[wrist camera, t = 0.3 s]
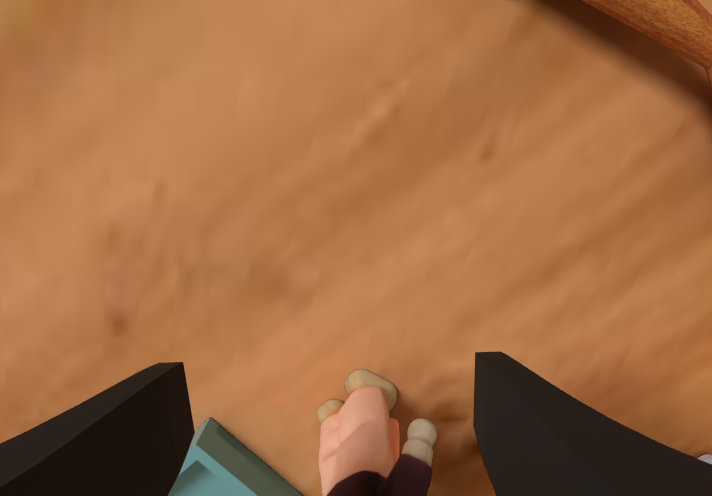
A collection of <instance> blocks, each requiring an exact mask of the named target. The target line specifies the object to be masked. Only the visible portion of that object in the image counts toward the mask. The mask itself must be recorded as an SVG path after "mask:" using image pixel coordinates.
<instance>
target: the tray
mask: <svg viewBox="0 0 712 496" xmlns="http://www.w3.org/2000/svg"><path fill="white" fill-rule="evenodd" d="M194 432H195V434H194V437H193V439H192V442H191V445H190V448H189V451H188V453H187V456H186V458H185V461H184V463H183V466H182V468H181V471H180V473H179V475H178V477H177V479H176V481H175V483H174V485H173V487H172V488H171V490H170V492H169V494H168V496H303V495H301V494H300V493H299V492H298V491H297V490H296V489H294V488H293V487H292V486H291V485H290V484H289V483H287V482H286V481H285V480H284V479H283V478H281V477H280V476H279V475H278V474H277V473H276V472H274V471H273V470H272V469H271V468H270V467H268V466H267V465H266V464H265V463H264V462H263V461H261V460H260V459H259V458H258V457H257V456H256V455H254V454H253V453H252V452H251V451H250V450H248V449H247V448H246V447H245V446H244V445H243V444H241V443H240V442H239V441H238V440H237V439H235V438H234V437H233V436H232V435H231V434H230V433H228V432H227V431H226V430H225V429H224V428H223V427H221V426H220V425H219V424H218V423H217V422H215V421H214V420H213V419H212V418H211V417H210V418H209V419H208V420H206V421H205V422H204V423H203V424H202V425H201V426H200V427H198V428H197V429H196V430H195V431H194Z"/></svg>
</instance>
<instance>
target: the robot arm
mask: <svg viewBox="0 0 712 496" xmlns="http://www.w3.org/2000/svg"><path fill="white" fill-rule="evenodd" d="M473 426H474V429H475V433H476V437H477V441H478V445H479V448H480V452H481V455H482V459H483V462H484V465H485V468H486V470H487V473H488V476H489V478H490V480H491V483H492V485H493V488H494V490H495V493H496V495H497V496H712V455H710V454H706V455H702V456H700V457H698V458H694V457H692V456H689V455H687V454H684V453H682V452H679V451H677V450H675V449H673V448H670V447H668V446H666V445H663V444H661V443H659V442H657V441H655V440H653V439H651V438H649V437H646V436H644V435H642V434H640V433H638V432H636V431H634V430H632V429H630V428H628V427H626V426H624V425H622V424H620V423H618V422H616V421H614V420H612V419H610V418H608V417H606V416H605V415H603V414H601V413H599V412H598V411H596V410H594V409H592V408H591V407H589V406H587V405H585V404H583V403H582V402H580V401H578V400H577V399H575V398H573V397H572V396H570V395H568V394H567V393H565V392H564V391H562V390H560V389H559V388H557V387H556V386H554V385H552V384H551V383H549V382H548V381H546V380H545V379H543V378H542V377H540V376H539V375H537V374H536V373H534V372H532V371H531V370H529V369H528V368H526V367H525V366H523V365H522V364H520V363H519V362H517V361H516V360H514V359H513V358H511V357H509V356H508V355H506V354H504V353H502V352H475V386H474V423H473ZM194 434H195V432H194V426H193V420H192V414H191V407H190V401H189V395H188V389H187V383H186V377H185V371H184V365H183V362H172V363H158V364H155V365H153V366H150V367H148V368H146V369H144V370H142V371H140V372H138V373H136V374H134V375H132V376H130V377H128V378H127V379H125V380H123V381H121V382H119V383H117V384H116V385H114V386H112V387H110V388H108V389H106V390H105V391H103V392H101V393H99V394H97V395H95V396H94V397H92V398H90V399H88V400H86V401H84V402H83V403H81V404H79V405H77V406H75V407H73V408H71V409H69V410H67V411H65V412H64V413H62V414H60V415H58V416H56V417H54V418H52V419H50V420H48V421H46V422H44V423H42V424H40V425H38V426H36V427H34V428H32V429H30V430H28V431H26V432H24V433H22V434H20V435H18V436H16V437H14V438H12V439H9V440H7V441H5V442H3V443H1V444H0V496H168V494H169V492H170V490H171V488H172V487H173V485H174V483H175V481H176V479H177V477H178V475H179V473H180V471H181V468H182V466H183V463H184V461H185V458H186V456H187V453H188V451H189V448H190V445H191V442H192V439H193V437H194Z"/></svg>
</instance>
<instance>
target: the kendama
mask: <svg viewBox="0 0 712 496" xmlns="http://www.w3.org/2000/svg"><path fill="white" fill-rule="evenodd" d="M582 1H584V2H586V3H587V4H589V5H591V6H593V7H595V8H597V9H598V10H600V11H602V12H604V13H606V14H608V15H609V16H611V17H613V18H615V19H617V20H619V21H620V22H622V23H624V24H626V25H628V26H630V27H631V28H633V29H635V30H637V31H639V32H641V33H642V34H644V35H646V36H648V37H650V38H652V39H653V40H655V41H657V42H659V43H661V44H663V45H664V46H666V47H668V48H670V49H672V50H674V51H675V52H677V53H679V54H681V55H683V56H685V57H686V58H688V59H690V60H692V61H694V62H696V63H697V64H699V65H701V66H703V67H705V70H706V73H707V76H708V79H709V82H710V85H711V88H712V15H711V14H710V13H709V12H708V11H707V10H706V9H705V8H704V7H703V6H702V5H701V4H700V3H699V2H698V1H697V0H582Z"/></svg>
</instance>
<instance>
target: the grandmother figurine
mask: <svg viewBox="0 0 712 496" xmlns="http://www.w3.org/2000/svg"><path fill="white" fill-rule="evenodd" d="M345 390H346V392H347V393H348V395H349V397H348V399H347V400H346V402H345V403H343V402H342V401H340V400H329V401H327V402H325V403H324V404H322V405H321V406H320V407H319V409H318V412H317V415H318V418H319V421H320V423H321V425H322V426H321V437H320V452H319V469H320V474H321V483H322V494H323V496H426V495H427V492H428V489H429V486H430V482H431V477H432V468H431V463H432V458H433V450H432V446H433V445H434V443H435V441H436V438H437V431H436V428H435V426H434V425H433V423H432V422H431V421H429V420H427V419H424V418H418V419H415V420H414V421H412V422H411V423H410V425H409V428H408V432H407V436H408V440H407V441H406V443H405V444H404V446H403V450H402V453H401V455H400V456H399V443H400V432H399V423H398V421H397V420H395V419H393V418H389V411H391V409H392V408H393V407H394V405H395V403H396V400H397V390H396V388H395V386H394V385H393V384H392V383H391V382H389V381H387V380H385V379H384V378H382V377H379V376H377V375H376V374H374V373H372V372H369V371H367V370H363V369H361V370H356V371H354V372H353V373H352V374H351V375H350V376H349V377H348V378H347V380H346V382H345Z"/></svg>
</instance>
